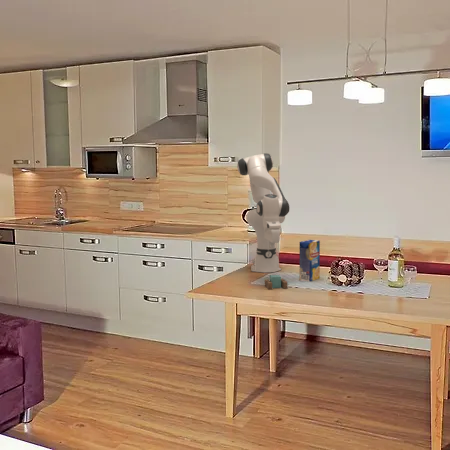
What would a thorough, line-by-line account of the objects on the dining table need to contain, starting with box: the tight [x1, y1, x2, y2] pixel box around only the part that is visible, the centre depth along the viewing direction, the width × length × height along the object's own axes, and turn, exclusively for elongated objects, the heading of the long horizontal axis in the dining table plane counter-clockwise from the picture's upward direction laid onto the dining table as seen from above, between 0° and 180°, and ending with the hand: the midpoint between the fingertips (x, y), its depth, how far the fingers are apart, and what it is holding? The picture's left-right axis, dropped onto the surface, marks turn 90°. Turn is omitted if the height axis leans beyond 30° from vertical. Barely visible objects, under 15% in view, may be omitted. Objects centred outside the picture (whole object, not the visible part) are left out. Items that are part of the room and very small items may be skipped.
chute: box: [264, 278, 288, 291], centre depth 309 cm, size 9×10×4 cm
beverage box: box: [299, 239, 321, 282], centre depth 327 cm, size 7×11×22 cm, turn 141°
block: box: [269, 274, 282, 289], centre depth 310 cm, size 5×5×6 cm
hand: (271, 248), depth 315 cm, fingers closed
